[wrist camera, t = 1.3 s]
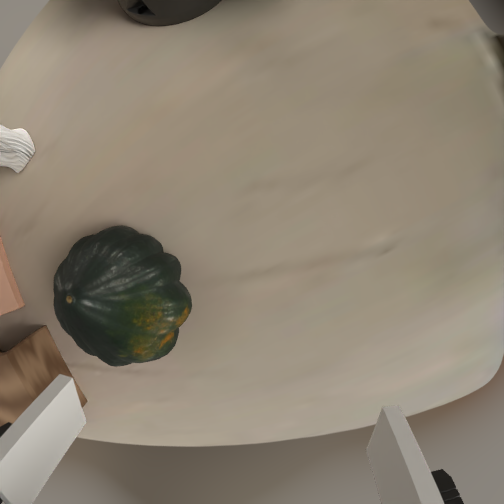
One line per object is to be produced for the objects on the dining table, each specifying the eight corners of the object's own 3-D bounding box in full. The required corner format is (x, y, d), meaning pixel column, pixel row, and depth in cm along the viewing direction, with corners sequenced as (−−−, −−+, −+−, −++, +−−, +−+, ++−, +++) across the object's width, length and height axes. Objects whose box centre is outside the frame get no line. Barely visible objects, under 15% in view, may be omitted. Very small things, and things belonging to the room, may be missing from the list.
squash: (153, 392, 34) (140, 390, 21) (55, 329, 34) (2, 290, 20) (205, 295, 41) (222, 242, 28) (111, 243, 41) (90, 173, 27)
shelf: (-8, 340, 41) (-41, 363, 31) (46, 325, 39) (6, 354, 29) (27, 403, 44) (0, 431, 34) (87, 401, 42) (58, 438, 32)
